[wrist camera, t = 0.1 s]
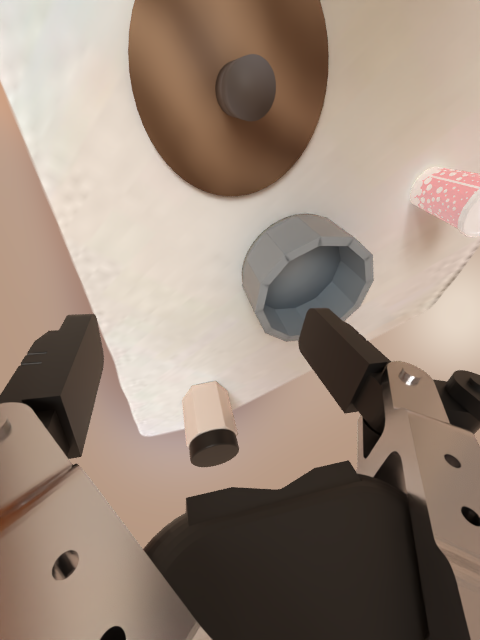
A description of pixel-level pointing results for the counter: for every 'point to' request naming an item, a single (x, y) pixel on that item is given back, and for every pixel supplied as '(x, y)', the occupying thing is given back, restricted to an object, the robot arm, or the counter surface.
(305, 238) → the grey hollow cylinder
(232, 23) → the walnut lid
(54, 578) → the robot arm
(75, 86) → the counter surface
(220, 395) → the jar
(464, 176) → the beverage cup
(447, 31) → the counter surface
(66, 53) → the counter surface
